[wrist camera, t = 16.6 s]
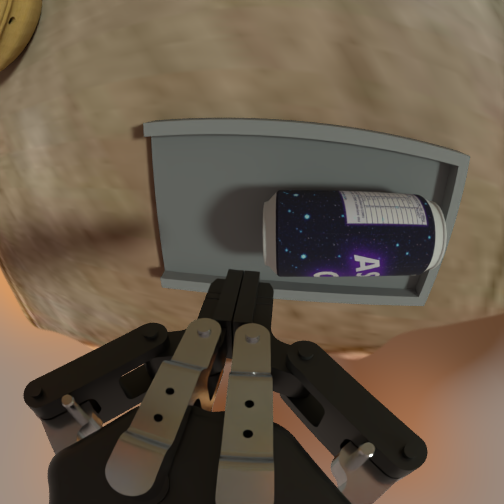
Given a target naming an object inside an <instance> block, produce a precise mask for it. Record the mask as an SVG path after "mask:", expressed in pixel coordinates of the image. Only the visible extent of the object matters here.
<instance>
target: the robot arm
mask: <svg viewBox="0 0 504 504" xmlns="http://www.w3.org/2000/svg"><path fill="white" fill-rule="evenodd" d="M273 295H274V289H273V288H272V286H271V284H270V283H263V282H260V272H257V271H246V270H245V272H244V270H234V269H229V270H228V273H227V276H226V279H219V278H217V279H216V280H215V281H214V282H212V283H211V284H210V287H209V289H208V293H207V295H206V297H205V300H204V303H203V305H202V308H201V311H200V313H199V316H198V319H197V320H194V321H193V322H191V323H190V324H189V326H188V327H187V329H185V330H182V331H173V332H167V329H166V328H165V327H164V326H163V325H161V324H158V323H148V324H145V325H142V326H140V327H138V328H137V329H135V330H133V331H131V332H129V333H127V334H125V335H123V336H121V337H119V338H117V339H115V340H113V341H111V342H109V343H107V344H105V345H103V346H101V347H99V348H97V349H95V350H93V351H91V352H89V353H87V354H85V355H83V356H81V357H79V358H77V359H75V360H74V361H71V362H69V363H67V364H66V365H64V366H62V367H59V368H57V369H55V370H53V371H51V372H49V373H47V374H45V375H43V376H41V377H39V378H37V379H35V380H33V381H31V382H30V383H29V384H28V385H27V386H26V388H25V390H24V401H25V403H26V404H27V405H28V406H29V407H30V408H31V409H32V410H33V411H34V413H35V414H36V416H37V417H39V418H40V420H41V421H42V424H43V426H44V429H45V432H46V434H47V436H48V439H49V441H50V443H51V446H52V448H53V450H54V452H55V454H56V455H55V456H54V457H53V459H52V461H51V462H50V465H49V468H48V483H49V493H50V494H49V499H50V500H49V504H372V503H374V502H375V501H376V500H377V499H378V498H379V497H380V496H381V495H382V494H384V493H385V491H387V490H388V489H389V488H390V487H391V486H392V485H393V484H394V483H395V482H397V481H398V480H400V479H402V478H403V477H405V476H406V475H408V474H410V473H411V472H413V471H414V470H416V469H417V468H419V467H420V466H421V465H422V464H423V463H424V462H425V460H426V458H427V447H426V444H425V442H424V441H423V440H422V439H421V438H420V437H419V436H417V435H416V434H415V433H414V432H413V431H412V430H411V429H410V428H408V427H407V426H406V425H405V424H404V423H403V422H402V421H400V420H399V419H398V418H397V417H396V416H395V415H394V414H393V413H392V412H390V411H389V410H388V409H387V408H386V407H385V406H384V405H383V404H381V403H380V402H379V401H378V400H377V399H376V398H375V397H374V396H373V395H371V394H370V393H369V392H368V391H367V390H366V389H365V388H364V387H363V386H362V385H360V384H359V383H358V382H357V381H356V380H355V379H354V378H353V377H352V376H351V375H350V374H348V373H347V372H346V371H345V370H344V369H343V368H342V367H341V366H340V365H339V364H338V363H337V362H335V361H334V360H333V359H332V358H331V357H330V356H329V355H328V354H327V353H326V352H325V351H324V350H323V349H321V348H320V347H319V346H318V345H317V344H315V343H313V342H310V341H298V342H295V343H293V344H292V345H288V344H286V343H283V342H281V341H279V340H277V339H276V338H275V337H274V336H273V334H272V332H271V320H272V308H273ZM226 358H230V359H232V365H231V372H230V374H229V380H228V390H227V398H226V408H225V411H221V412H212V407H213V403H214V400H215V397H216V394H217V391H218V388H219V385H220V382H221V379H222V376H223V373H224V366H225V361H226ZM142 364H144V365H142ZM140 365H142V366H140ZM138 366H140V367H138ZM137 367H138V368H137ZM135 368H137V369H135ZM133 369H135V370H133ZM131 370H133V371H131ZM130 371H131V372H130ZM128 372H129V373H128ZM126 373H127V374H126ZM124 374H126V375H124ZM122 375H124V376H122ZM121 376H122V377H121ZM273 391H275V392H277V393H280V396H281V398H282V399H283V400H284V402H285V403H286V404H287V405H288V406H289V407H290V408H291V410H292V411H293V412H294V413H295V414H296V415H297V417H298V418H299V419H300V420H301V421H302V422H303V423H304V424H305V425H306V427H307V428H308V429H309V430H310V431H311V432H312V433H313V434H314V435H315V437H317V439H318V440H319V441H320V442H321V443H322V444H323V445H324V446H325V447H326V448H327V449H328V450H329V451H330V452H331V454H332V455H333V456H334V459H333V461H332V463H331V471H332V474H333V476H334V477H335V479H336V480H337V484H338V488H337V487H336V486H335V485H334V483H333V482H332V481H331V480H330V479H329V478H328V477H327V476H326V474H325V473H324V472H323V471H322V470H321V469H320V467H319V466H318V465H317V464H316V463H315V462H314V460H313V459H312V458H311V457H310V456H309V454H308V453H307V452H306V451H305V450H304V448H303V447H302V446H301V445H300V443H299V442H298V441H297V440H296V438H295V437H294V436H293V435H292V434H291V433H290V432H289V431H288V430H286V429H285V428H283V427H282V426H280V425H279V424H277V423H274V422H273ZM141 402H142V403H141ZM139 403H141V405H140V406H138V407H136V408H134V409H132V410H130V411H129V412H127V413H125V414H124V415H122V416H120V417H119V418H117V419H115V420H114V421H112V422H111V423H109V424H107V425H106V426H104V427H102V425H103V423H105V422H107V421H109V420H111V419H112V418H114V417H116V416H118V415H120V414H122V413H123V412H125V411H127V410H129V409H130V408H132V407H134V406H136V405H137V404H139Z"/></svg>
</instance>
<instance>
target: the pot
mask: <svg viewBox="0 0 504 504" xmlns="http://www.w3.org/2000/svg"><path fill="white" fill-rule="evenodd" d="M41 8H42V0H0V72H1V71H2V70H3V69H5V68H6V67H7V66H8V65H9V64H11V63H12V62H13V61H14V60H15V59H16V58H17V57H18V56H19V54H20V53H21V52H22V51H23V50H24V48H25V47H26V45H27V44H28V42H29V40H30V38H31V37H32V35H33V33H34V30H35V28H36V26H37V23H38V20H39V17H40V14H41Z"/></svg>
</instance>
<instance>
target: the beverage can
mask: <svg viewBox="0 0 504 504" xmlns="http://www.w3.org/2000/svg"><path fill="white" fill-rule="evenodd" d="M446 240H447V232H446V223H445V219H444V215H443V213H442V211H441V209H440V207H439V206H438V205H437V204H436V203H435V202H433V201H428V200H426V199H425V198H423V197H422V196H420V195H417V194H403V193H385V192H362V191H325V190H279V191H277V192H276V193H275V194H274V195H273V196H272V198H271V199H270V200H269V201H267V202H265V203H264V208H263V256H264V264H265V265H266V266H269V267H270V268H271V269H272V270H273V271H274V272H275V273H276V274H277V275H278V276H279V277H354V276H408V275H420V274H422V273H423V272H425V271H426V270H428V269H434V268H435V267H437V266H438V265H439V263H440V262H441V260H442V258H443V255H444V252H445V247H446Z"/></svg>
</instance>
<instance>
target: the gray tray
mask: <svg viewBox="0 0 504 504" xmlns="http://www.w3.org/2000/svg"><path fill="white" fill-rule="evenodd" d="M143 126H144V137H147V136H151V143H152V160H153V173H154V185H155V196H156V206H157V215H158V223H159V231H160V239H161V246H162V254H163V260H164V267H165V271H164V273H163V275H162V276H161V278H160V279H161V284H162V287H164V288H172V289H180V290H189V291H198V292H207V293H208V289H209V287H210V284H211V283H212V282H214V281H215V280H216V279H217V278H219V279H226V276H227V273H228V270H229V269H234V270H244V272H245V270H246V271H257V272H260V282H263V283H270V284H271V286H272V288H273V289H274V295H273V299H285V300H299V301H314V302H331V303H350V304H373V305H407V306H424V304H425V302H426V300H427V298H428V295H429V293H430V291H431V288H432V286H433V283H434V281H435V278H436V276H437V273H438V271H439V268H440V265H441V263H442V260H443V258H442V260H441V262H440V263H439V265H438V266H437V267H435V268H434V269H428V270H426V271H425V272H423V273H422V274H420V275H408V276H354V277H279V276H278V275H277V274H276V273H275V272H274V271H273V270H272V269H271V268H270V267H269V266H266V265H265V264H264V256H263V208H264V203H265V202H267V201H269V200H270V199H271V198H272V196H273V195H274V194H275V193H276V192H277V191H279V190H325V191H362V192H385V193H403V194H417V195H420V196H422V197H423V198H425V199H426V200H428V201H433V202H435V203H436V204H437V205H438V206H439V207H440V209H441V211H442V213H443V215H444V219H445V223H446V232H447V240H446V247H445V251H446V249H447V246H448V243H449V240H450V236H451V233H452V230H453V227H454V223H455V220H456V216H457V213H458V209H459V205H460V202H461V198H462V194H463V189H464V185H465V181H466V176H467V171H468V166H469V161H470V156H468V155H466V154H464V153H461V152H459V151H456V150H453V149H449V148H446V147H442V146H439V145H435V144H431V143H427V142H423V141H419V140H415V139H411V138H406V137H402V136H397V135H392V134H387V133H382V132H377V131H371V130H365V129H359V128H353V127H346V126H339V125H332V124H323V123H314V122H304V121H293V120H279V119H259V118H189V119H170V120H156V121H151V122H147V123H143ZM444 254H445V252H444ZM443 257H444V255H443Z"/></svg>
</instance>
